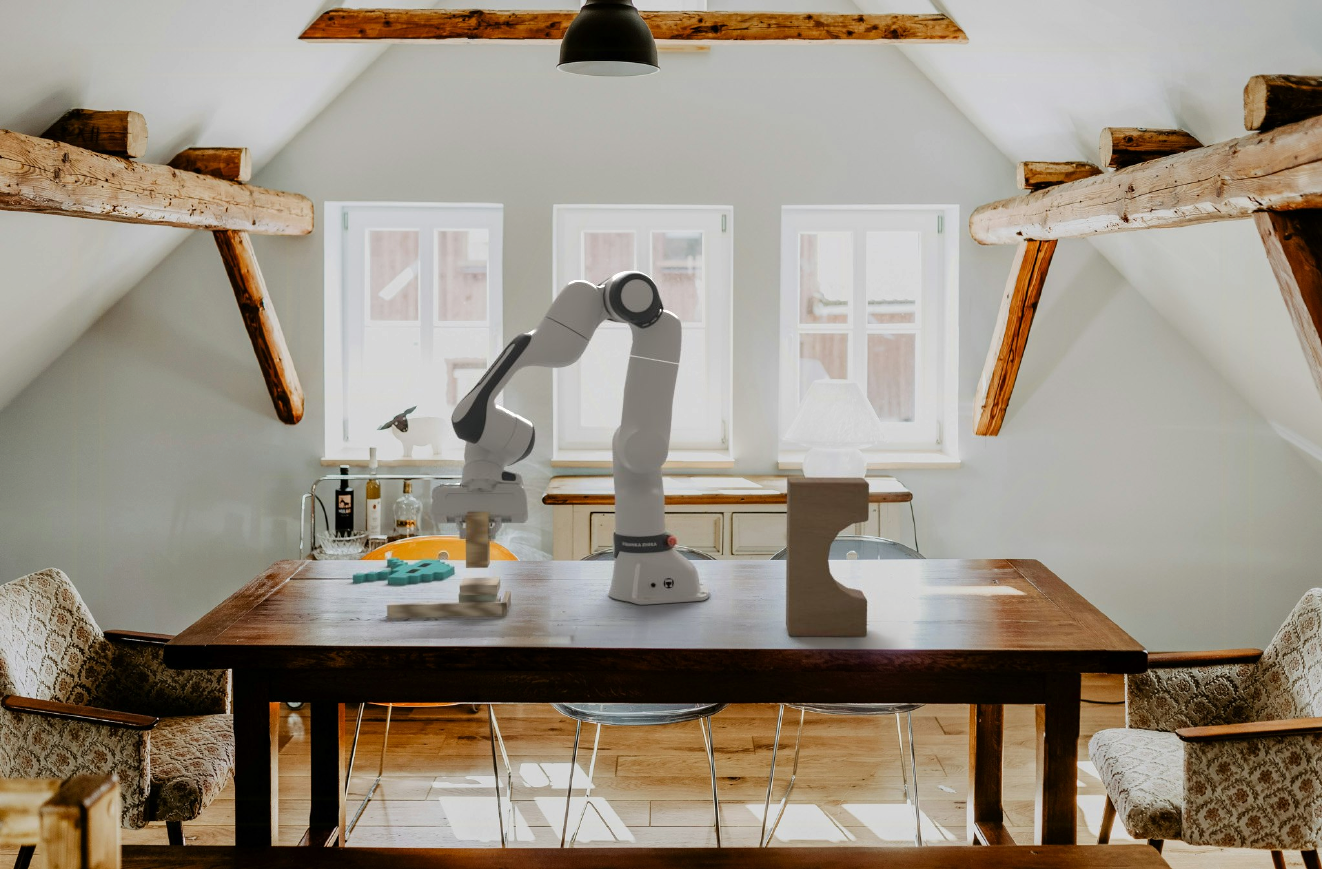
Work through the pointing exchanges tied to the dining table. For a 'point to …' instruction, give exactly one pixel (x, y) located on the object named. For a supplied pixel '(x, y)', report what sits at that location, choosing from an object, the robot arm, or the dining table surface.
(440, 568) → the alien figure
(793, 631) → the decorative block
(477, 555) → the oak post
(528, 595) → the dining table surface
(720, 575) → the dining table surface
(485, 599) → the offcut stack
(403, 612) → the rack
